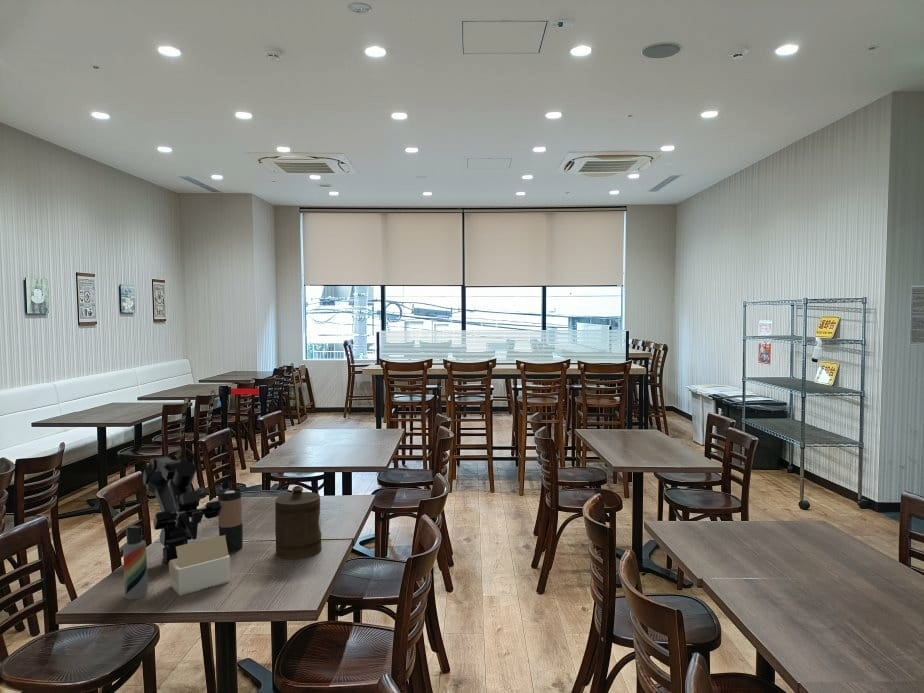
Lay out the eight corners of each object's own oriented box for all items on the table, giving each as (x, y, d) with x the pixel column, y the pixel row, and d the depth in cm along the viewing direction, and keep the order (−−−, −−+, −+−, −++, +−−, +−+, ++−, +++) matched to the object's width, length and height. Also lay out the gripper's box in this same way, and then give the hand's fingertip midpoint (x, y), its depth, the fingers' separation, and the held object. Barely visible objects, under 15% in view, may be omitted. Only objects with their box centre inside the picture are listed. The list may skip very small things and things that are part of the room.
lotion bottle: (121, 597, 170) (118, 527, 170) (141, 589, 175) (138, 521, 174) (131, 602, 167) (128, 530, 167) (151, 594, 172) (149, 524, 171)
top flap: (175, 546, 172) (176, 546, 172) (224, 535, 181) (225, 534, 180) (179, 568, 170) (179, 567, 170) (228, 555, 179) (228, 555, 179)
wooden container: (331, 548, 205) (329, 483, 204) (296, 563, 193) (294, 494, 192) (300, 540, 213) (299, 478, 212) (266, 554, 201) (264, 488, 200)
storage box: (168, 585, 177) (167, 560, 177) (220, 571, 187) (219, 547, 187) (177, 596, 170) (176, 570, 170) (231, 581, 180) (230, 556, 179)
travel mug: (235, 553, 202) (233, 494, 201) (214, 552, 203) (212, 493, 203) (247, 545, 209) (245, 488, 209) (227, 544, 211) (225, 487, 210)
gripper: (154, 486, 178) (165, 532, 170) (218, 474, 190) (232, 517, 182) (148, 506, 185) (159, 552, 177) (211, 494, 197) (224, 536, 189)
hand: (195, 538), depth 181 cm, fingers closed
